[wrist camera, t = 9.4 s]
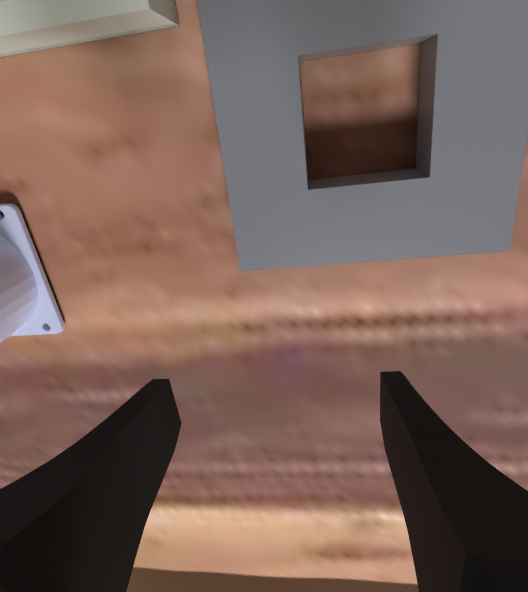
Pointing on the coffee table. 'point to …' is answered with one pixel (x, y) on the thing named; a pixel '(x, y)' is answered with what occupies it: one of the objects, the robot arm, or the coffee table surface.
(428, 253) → the grey square frame
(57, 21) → the parts tray
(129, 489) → the robot arm
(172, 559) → the coffee table surface
